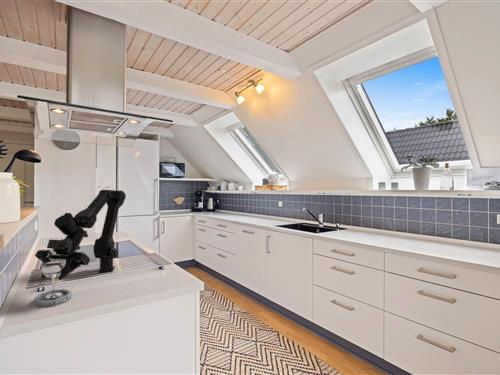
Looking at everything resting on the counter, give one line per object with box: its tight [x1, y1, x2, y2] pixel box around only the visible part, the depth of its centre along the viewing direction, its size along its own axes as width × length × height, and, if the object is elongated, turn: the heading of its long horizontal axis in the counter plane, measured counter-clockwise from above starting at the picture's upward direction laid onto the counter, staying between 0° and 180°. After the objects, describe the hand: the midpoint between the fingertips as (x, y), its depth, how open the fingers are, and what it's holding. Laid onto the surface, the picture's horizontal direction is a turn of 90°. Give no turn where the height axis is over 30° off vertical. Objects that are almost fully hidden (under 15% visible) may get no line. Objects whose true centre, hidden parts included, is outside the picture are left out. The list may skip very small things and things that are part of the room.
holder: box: [33, 288, 73, 308], centre depth 104 cm, size 11×11×2 cm
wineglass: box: [41, 259, 65, 298], centre depth 103 cm, size 7×7×12 cm
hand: (50, 279), depth 102 cm, fingers closed on wineglass, 6 cm apart
